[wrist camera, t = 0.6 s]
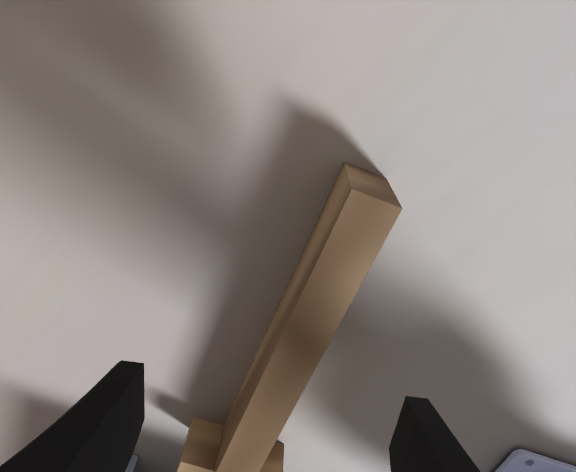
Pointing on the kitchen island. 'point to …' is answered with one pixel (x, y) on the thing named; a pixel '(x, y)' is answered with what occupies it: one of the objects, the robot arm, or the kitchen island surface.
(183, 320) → the kitchen island surface
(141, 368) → the robot arm
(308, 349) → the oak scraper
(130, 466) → the low shelf
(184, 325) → the kitchen island surface
